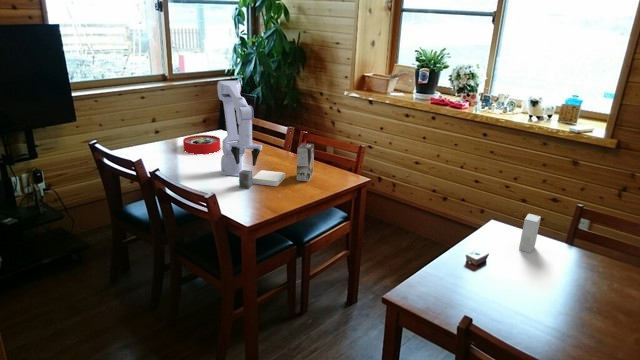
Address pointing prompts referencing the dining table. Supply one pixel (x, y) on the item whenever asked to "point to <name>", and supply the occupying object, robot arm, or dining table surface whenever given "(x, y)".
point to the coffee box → (305, 162)
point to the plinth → (268, 178)
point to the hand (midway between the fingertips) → (246, 164)
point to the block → (245, 179)
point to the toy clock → (201, 144)
